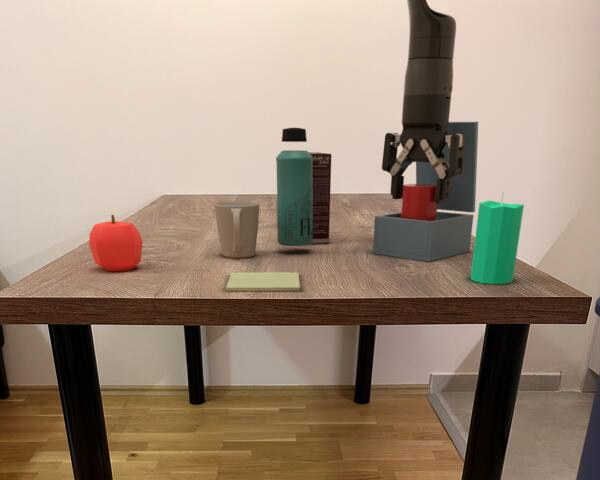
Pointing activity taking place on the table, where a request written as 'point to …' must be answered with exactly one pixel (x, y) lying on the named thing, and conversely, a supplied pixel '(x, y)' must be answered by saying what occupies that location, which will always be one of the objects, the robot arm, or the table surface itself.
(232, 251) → the cup
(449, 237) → the chest
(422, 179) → the lid
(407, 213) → the red cylinder
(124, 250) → the apple
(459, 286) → the table surface
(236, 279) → the mat
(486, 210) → the candle
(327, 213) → the supplement box
